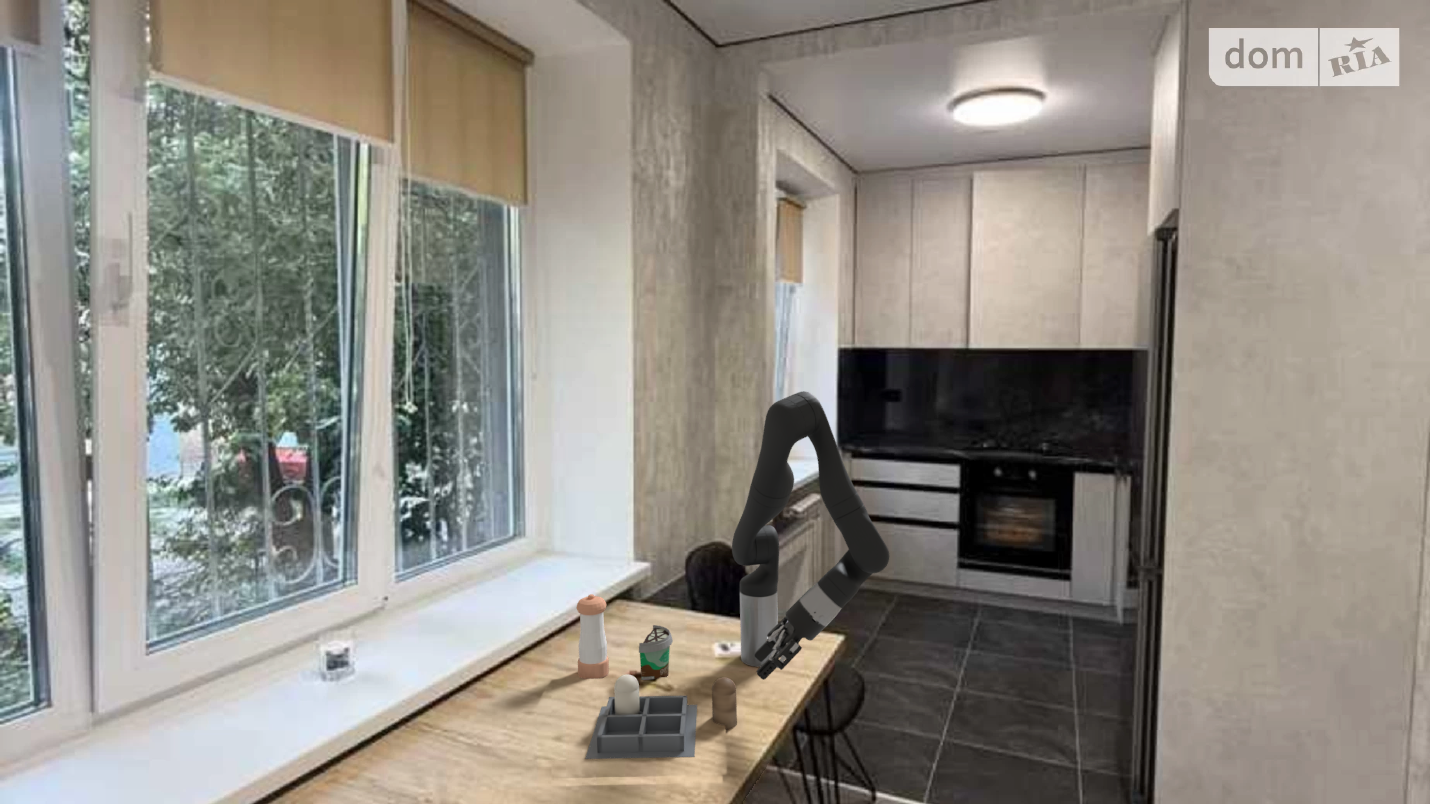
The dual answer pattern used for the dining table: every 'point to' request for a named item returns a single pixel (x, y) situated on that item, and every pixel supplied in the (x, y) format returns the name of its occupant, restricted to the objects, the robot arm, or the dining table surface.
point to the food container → (655, 653)
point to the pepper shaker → (592, 639)
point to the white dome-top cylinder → (627, 696)
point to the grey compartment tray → (646, 730)
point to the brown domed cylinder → (724, 702)
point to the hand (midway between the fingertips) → (758, 667)
